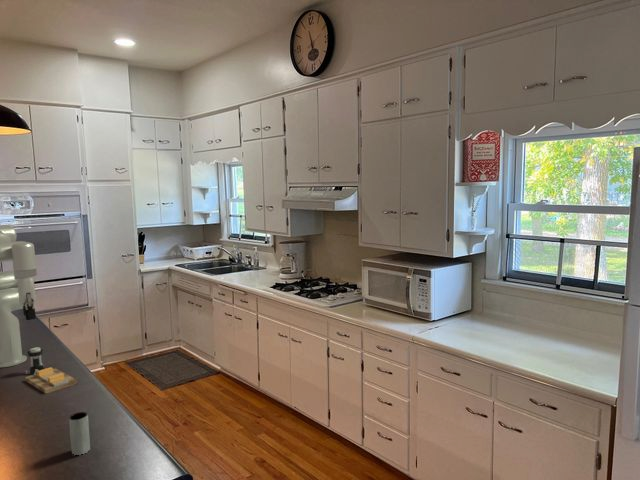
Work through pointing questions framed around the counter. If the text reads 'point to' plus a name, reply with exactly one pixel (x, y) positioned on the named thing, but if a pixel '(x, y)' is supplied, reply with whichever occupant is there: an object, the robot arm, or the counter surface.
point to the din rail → (54, 383)
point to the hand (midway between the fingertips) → (29, 317)
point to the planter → (79, 433)
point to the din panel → (46, 386)
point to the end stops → (51, 378)
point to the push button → (35, 360)
